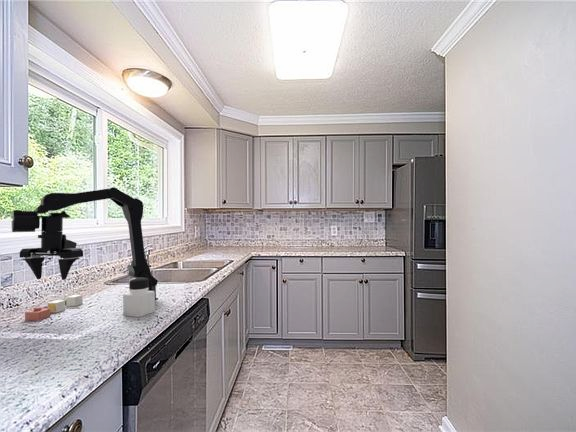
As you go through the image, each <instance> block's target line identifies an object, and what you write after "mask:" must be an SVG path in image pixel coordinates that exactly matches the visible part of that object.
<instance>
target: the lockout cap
mask: <svg viewBox="0 0 576 432" xmlns="http://www.w3.org/2000/svg"><path fill="white" fill-rule="evenodd" d="M49 317H51V312H50V309H47V308H43V307H41V306H37V307H33V309H31V310H28V311H25V312H24V321H35V322H36V321H37V322H38V321H41V320H44V319H46V318H49Z"/></svg>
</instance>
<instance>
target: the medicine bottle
mask: <svg viewBox="0 0 576 432" xmlns="http://www.w3.org/2000/svg"><path fill="white" fill-rule="evenodd" d="M148 289H149V280H148V278H144V277H140V278H133V279H131V278H130V279H129V281H128V291H129V292H126V293H123V295H122V299H123V300H122V305H123V310H122V311H123V312H122V313H123V316H124V317H125V316H126V317H134V318H135V317H136V318H142V317H145V316H147V315H150V314H152V313H155V311H156V301H155V292H154V291H148Z"/></svg>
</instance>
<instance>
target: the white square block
mask: <svg viewBox="0 0 576 432" xmlns="http://www.w3.org/2000/svg"><path fill="white" fill-rule="evenodd" d="M65 298H66V299H65V300H66V305H65V307H79V306H81V305H83V300H84V299H83V294H73V295H72V294H71V295H69V296H66V297H65Z"/></svg>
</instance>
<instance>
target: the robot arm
mask: <svg viewBox="0 0 576 432" xmlns="http://www.w3.org/2000/svg"><path fill="white" fill-rule="evenodd" d="M103 200H111V201H112V202H113V203H115V204H116V205H117V206H118V207H120V208H121V209H122V212H123V216H124V218H125V220H126V221H127V225H128V234H129V242H130V250H131V260H132V261H131V264H127V266H126V267H127V269H128V274H127V275H128V276H130V280H131V279H133V278H140V277H144V278H148V280H149V289H148V291H154V292H155V302H156V301H158V300H159V297H157V293H156V292H157V284H158V282H159V280H158V279H156V278H155V276H153V275H152V271H151V269H150V265H149V263H148V261H147V260H146V256H145V255H146V254H145V246H144V239H143V237H144V236H143V229H142V228H143V227H142V220H143V215H144V203H143V201H142V200H141V199H139V198H136V197H135V198H134V197H132V196H131V195H129V194H127V193H125V192H123V191H122V190H120V189H118V187H115V186H113V187H108V188H103V189H96V190H89V191H83V192H75V193H74V192H73V193H72V192H71V193H69V192H51V193H48V194H45V195H43V196H42V197H41V199H40V204H39V205H38V207H36V208H35V209H34V210H19V209H14V210H13V211H12V213H13V214H12V220H11V232H12V233H30V232H31V233H35V231H36V229H37V230H39V229H41V232H40V234H38V235H37V238H38V239H40V247H28V248H22V249H20V251H19V258H22V259H23V261H25V262H26V264H27V265H28V267H29V269H31V271H32V273H33V275H34V276H35V278H36V280H42V275H43V274H42V273H43V262H44V260H45V259H46V257H48V256H49V257H52V256H53V257H57V256H59V257H60V258H58V260H57V261H58V266H59V272H60V277H61V280H62V281H65V280H66V279H67V277H68V275H69V273H70V270H71V267H72V265H73V264H74V263H75V262H76V261H78V260H80V258H81V257H84V250H83V249H82V248H80V247H77V245H78V243H77V242H76V241H73V240H71V239H67V235H66V234H67V233H66V234H63V228H64V227H63V225H64V224H63V223H64V222H63V221H64V219H63V218H65V219H70V217H71V215H69V214H68V213H66V211H65V210H63V209H66V208H68V207H71V206H74V205H77V204H82V203H83V204H84V203H85V204H86V203H91V202H95V201H103ZM59 210H62V211H61V212H55V211H59ZM48 212H49V215H42V214H46V213H48ZM40 219H41V220H40ZM40 223H41V228H40Z"/></svg>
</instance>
